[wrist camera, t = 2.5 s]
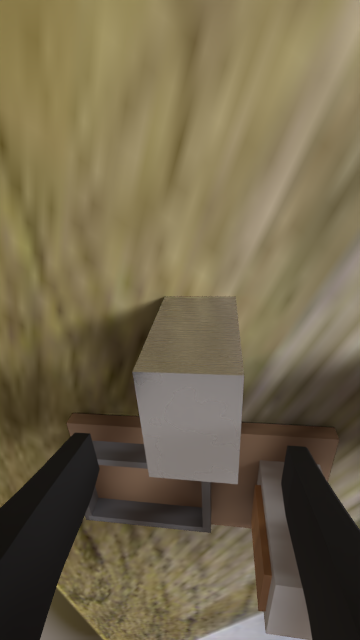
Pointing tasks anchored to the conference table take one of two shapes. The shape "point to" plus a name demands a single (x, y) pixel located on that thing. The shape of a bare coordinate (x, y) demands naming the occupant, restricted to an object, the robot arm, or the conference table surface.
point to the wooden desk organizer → (214, 500)
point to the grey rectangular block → (192, 390)
